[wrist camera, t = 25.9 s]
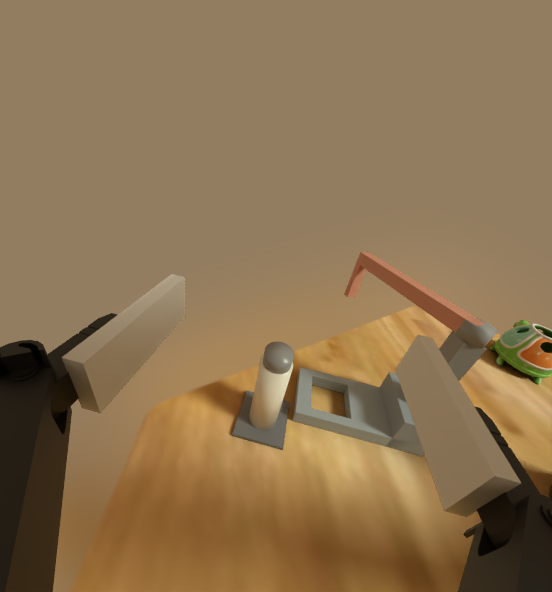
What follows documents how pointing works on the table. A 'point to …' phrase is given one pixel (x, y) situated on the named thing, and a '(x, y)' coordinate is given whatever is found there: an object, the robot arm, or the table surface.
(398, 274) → the pink bent bar
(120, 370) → the robot arm
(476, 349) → the dock
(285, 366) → the bottle
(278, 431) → the mat
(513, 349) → the turtle holder
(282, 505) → the table surface
